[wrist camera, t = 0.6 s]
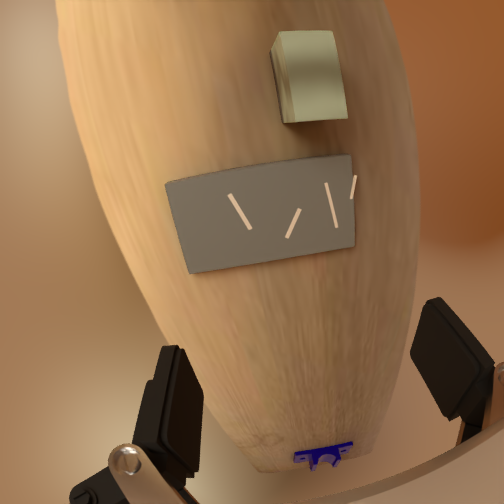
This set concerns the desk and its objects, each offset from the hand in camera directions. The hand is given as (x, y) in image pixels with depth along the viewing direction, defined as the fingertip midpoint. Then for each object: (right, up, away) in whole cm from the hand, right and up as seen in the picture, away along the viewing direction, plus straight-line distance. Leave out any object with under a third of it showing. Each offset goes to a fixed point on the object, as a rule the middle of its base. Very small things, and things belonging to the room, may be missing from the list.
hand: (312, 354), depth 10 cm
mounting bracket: (+20, -58, +58) cm, 84 cm away
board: (-1, +9, +24) cm, 26 cm away
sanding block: (+3, +23, +18) cm, 29 cm away
